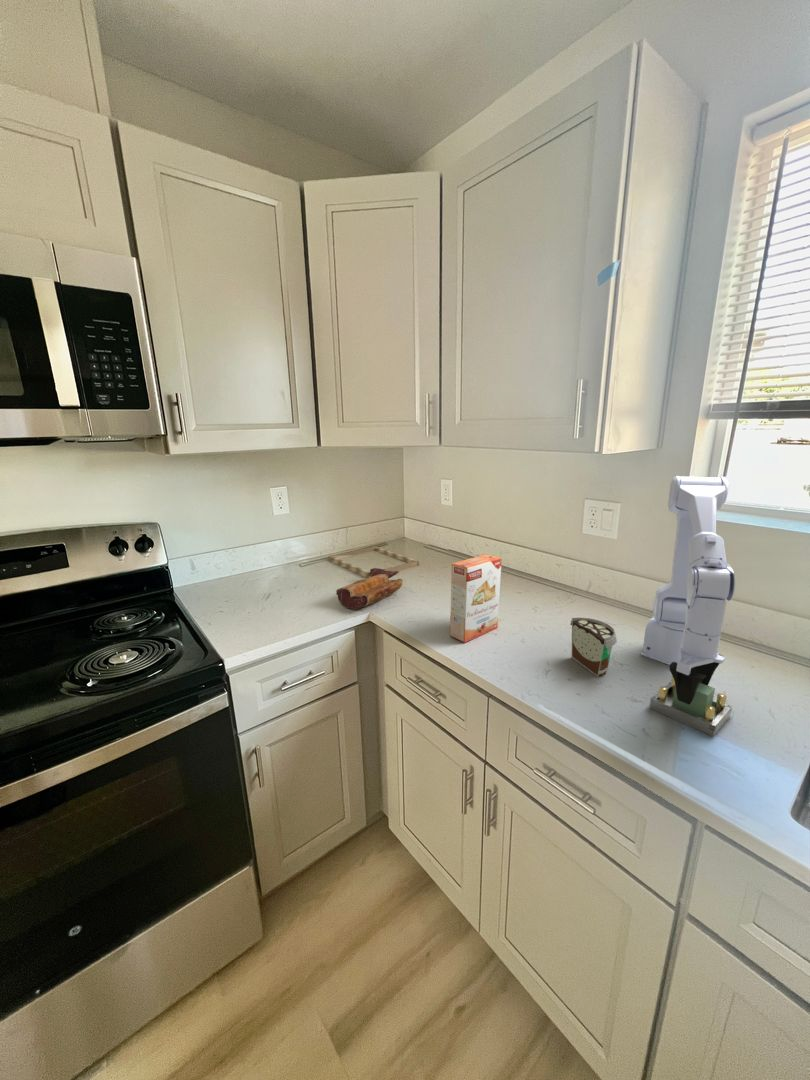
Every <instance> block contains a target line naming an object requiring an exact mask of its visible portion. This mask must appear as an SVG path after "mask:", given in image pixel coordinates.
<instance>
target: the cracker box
mask: <svg viewBox="0 0 810 1080" xmlns="http://www.w3.org/2000/svg"><path fill="white" fill-rule="evenodd" d="M502 560H503V559H502V558H501V557H498V556H495V555H490V554H486V553H485V554H482V555H478V556H474V557H472V558H466V559H463V560H459V561H456V562H453V563H451V582H450V583H451V585H450V586H451V587H450V622H449V623H450V624H449V636H450V637H451V638H453V639H456V640H458V641H459V642H462V643H465V644H466V643H467V642H470V641H471V640H474V639H476V638H479V637H481V636H484V635H485V634H487V633H489V632H492V631H494V630H496V629H498V627H499V626H498V625H499V610H500V596H501V595H500V591H501V578H502V577H501V574H502Z"/></svg>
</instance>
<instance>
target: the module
mask: <svg viewBox="0 0 810 1080" xmlns="http://www.w3.org/2000/svg"><path fill="white" fill-rule="evenodd" d="M715 690H716V688H715V687H712V686H709V685H708V686H707V685H705V684H702V683H700V684H699V686H698V688H697V690H696V693H695V696H694V698H693V701H692V702H691V704H690V705H688V704H686V703H684V702H681V701H679V700H678V699H677V693H676V686H675V690H674V696H673V703H672V705H673V706H675V707H678V708H680V709H682V710H685V711H687V712H689V713H692V714H694V715H696V716H699V717H701V718H703V719H704V715H705V709H706V706H707V705H710V706H712V702H713V699H714V695H715Z"/></svg>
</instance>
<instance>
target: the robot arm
mask: <svg viewBox="0 0 810 1080" xmlns="http://www.w3.org/2000/svg"><path fill="white" fill-rule="evenodd" d="M728 492H729V481H728V480H727V478H725V477H724V476H720V477H715V476H714V477H711V476H709V477H708V476H706V477H704V476H701V477H700V476H679V475H676V476H674V477H673V478H672V479H671V482H670V486H669V493H668V504H667V506H668V511H669V512H671V513H673V514H675V516H676V522H677V523H676V533H675V540H674V550H673V558H672V566H671V567H672V568H671V574H670V575H671V577H670V582H668V583H666V584H664V585H662V586H660V587H658V588H656V589H657V590H655V591H656V592H655V596H654V599H653V604H652V617H651V618H650V619H649V620H648V622H647V624H646V627H645V630H644V638H643V644H642V652H640V654H641V656H644V657H647V658H648V659H652V660H655V661H656V662H657V661H658V662H660V663H662V664H666V665H668V666H669V667H668V668H669V669H668V670H669V672H670V673H671V676H673V678H674V681H675V686H676V693H677V699H678V700H679V701H681V702H684V703H686V704H688V705H690V704H691V702H692V701H693V698H694V696H695V693H696V690H697V688H698V686H699V684H700V683H702V684H705V685H707V686H709V684H710V682H711V680H712V678H713V676H714V673H715V671H716V669H717V668H718V667H719V665H720V664H724V662H725V660H726V657H725V656H724V655H722V654H721V653H720V654H719V650H720V649H719V648H720V644H721V643H720V641H721V637H722V630H723V625H724V618H725V614H726V613H725V612H726V607H727V601H728V602H730V601H731V600H732V599H733V597H734V593H735V589H736V577H735V576H736V575H735V571H734V570H733V568H732V565H731V563H730V564H729V563H727V561H728V559H727V555H726V546H725V541H724V538H723V537H722V536H721V535H719V534H717V512H718V511H719V510H721V509H722V507H723V505H724V504H725V503H726V501H727V497H728Z"/></svg>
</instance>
